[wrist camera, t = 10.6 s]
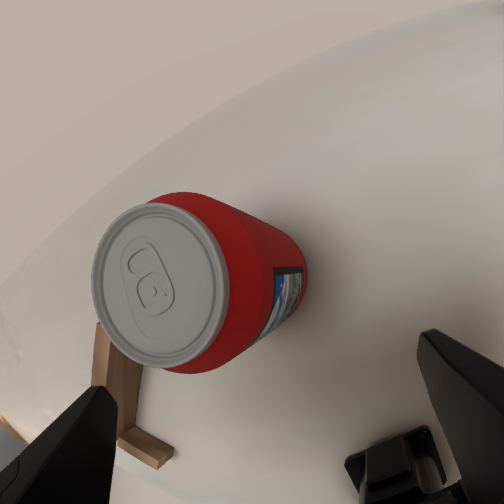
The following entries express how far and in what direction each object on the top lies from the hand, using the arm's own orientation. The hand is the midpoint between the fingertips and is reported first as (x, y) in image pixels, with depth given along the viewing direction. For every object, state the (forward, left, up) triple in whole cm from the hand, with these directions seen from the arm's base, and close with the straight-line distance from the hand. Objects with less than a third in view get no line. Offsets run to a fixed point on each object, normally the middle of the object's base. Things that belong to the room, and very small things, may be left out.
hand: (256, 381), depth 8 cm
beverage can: (+4, +2, -13) cm, 14 cm away
